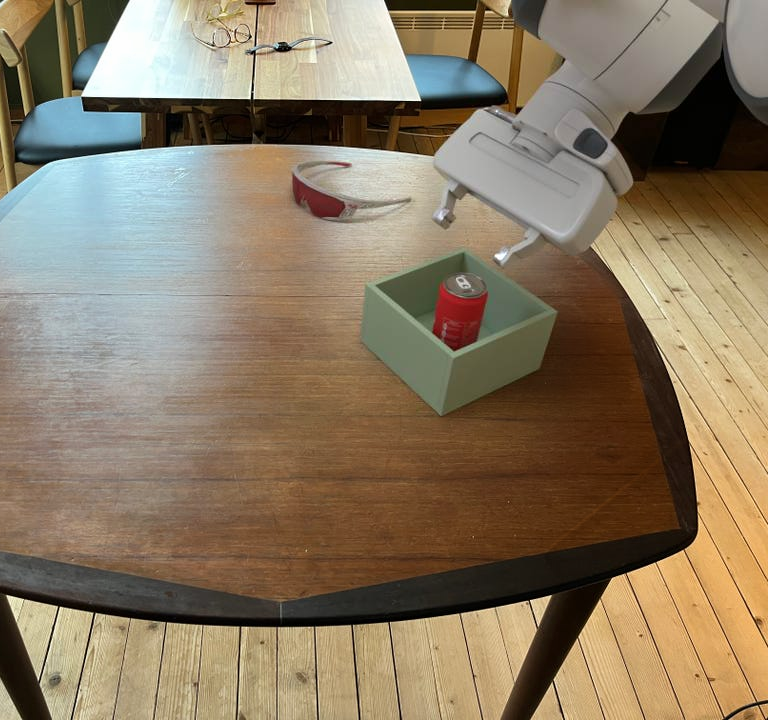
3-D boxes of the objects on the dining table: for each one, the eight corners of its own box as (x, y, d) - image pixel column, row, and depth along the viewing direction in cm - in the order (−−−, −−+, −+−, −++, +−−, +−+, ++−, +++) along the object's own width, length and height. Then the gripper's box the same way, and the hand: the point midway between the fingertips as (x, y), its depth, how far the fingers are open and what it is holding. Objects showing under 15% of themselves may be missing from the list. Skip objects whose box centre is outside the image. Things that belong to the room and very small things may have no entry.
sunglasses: (268, 189, 121) (272, 160, 118) (343, 178, 131) (349, 150, 128) (335, 234, 111) (342, 204, 108) (412, 218, 121) (420, 189, 118)
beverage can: (436, 384, 86) (453, 301, 78) (419, 356, 89) (433, 274, 81) (477, 377, 87) (497, 294, 79) (458, 349, 90) (476, 268, 82)
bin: (539, 369, 89) (558, 311, 83) (441, 416, 83) (453, 358, 77) (453, 302, 99) (464, 246, 93) (359, 340, 93) (365, 283, 87)
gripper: (473, 83, 78) (391, 189, 81) (631, 157, 65) (528, 280, 68) (496, 115, 83) (418, 214, 86) (647, 190, 70) (550, 304, 72)
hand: (467, 244), depth 77 cm, fingers open, 8 cm apart
